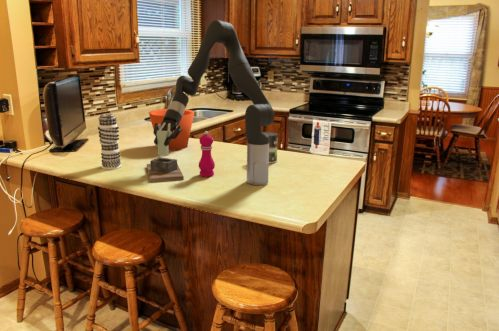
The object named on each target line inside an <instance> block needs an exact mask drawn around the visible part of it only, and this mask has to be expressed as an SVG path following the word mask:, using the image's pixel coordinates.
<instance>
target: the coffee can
mask: <svg viewBox="0 0 499 331" xmlns="http://www.w3.org/2000/svg"><path fill="white" fill-rule="evenodd" d="M261 132H262V134H265V135H268V136H269V165H271V164H274V163H277V162H278V137H279V133H278V132H274V131H261Z"/></svg>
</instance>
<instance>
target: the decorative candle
mask: <svg viewBox="0 0 499 331" xmlns="http://www.w3.org/2000/svg"><path fill="white" fill-rule="evenodd" d="M117 118H118V117H116V116H115V115H114V113H102V114H100V115H99V117H98V118H97V119H98V124H99V125H98V126H97V129H98V137H99V140H98V141H99V143H100V147H101V153H100V155H101V157H100V158H101V166H102V167H101V168H102V169H104V170H116V169H120V168H121V166H122V165H121V164H122V162H121V158H120V157H121V155H120V154H121V152H120V148H119V142H120V141H119V140H120V138H119V137H120V134H118V133H120V131H119V126H118V123H117Z"/></svg>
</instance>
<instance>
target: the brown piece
mask: <svg viewBox="0 0 499 331" xmlns="http://www.w3.org/2000/svg"><path fill="white" fill-rule="evenodd" d="M146 169H147V170H146V171H147V174H148V177H149V181H150V183H158V182H169V181H170V182H172V181H184V180H185V179H184V178H185V177H184V175H183V173H182V170H181V169H180V167H179V164H178V159H175V158H168V157H167V158H166V157H162V156H161V157H157V158H154V159H151V160H150V163H146Z"/></svg>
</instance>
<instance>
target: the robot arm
mask: <svg viewBox="0 0 499 331" xmlns="http://www.w3.org/2000/svg"><path fill="white" fill-rule="evenodd" d="M239 40H240V39H239V37H238V34H237V31H236V29H235V26H234V25H233V24H232V23H230V22H228V21H223V20H220V19H214V20H212V21H211V22H210V23H209V25H208V26H207V28H206V31H205V33H204V36H203V38H202V41H201V43H200V46H199V48H198V50H197V53H196V55H195V57H194V59H193V61H192V63H191V64H190V66H189V68H187V74H188V76H189V77H188V76H186V75H180V76H178V78H177V80H176V83H175V92H174V94H173V97H172V100H171V102H170V103H169V105H168V106H167V108H166V109H167V111H166V113H165V115H164V117H163V121H162V122H161V124H157V123H155V126H154V129H153V133H152V134H153V135H154V136H155V138H154V140H153V144H155V146H157V145H158V143H157V131H159V130H162V131H168V137H166V139H165V142H164V145H165V146H167V145H169V143H170V141H171V140H172V139H173V138H174V139H176V138H177V136H178V135H179V134H180V132H181V131H182V128H181V126H178V125H179V123H180V121H181V118H182V116H183V114H184V111H185V109H186V108H187V106H188V103H189V100H190V98H189V97H188V96H191V97H192V96H194V95H196V94H197V93H198V91H199V86H200V82H201V79H202V77H203V76H204V74H205V73H206V71H207V69H208V67H209V64H210V55H211V54H210V53H211V50H212V48H213V47H214V46H215V44H216V43H219V44H223V46H224V48H225V49H226V51H227V53H228V63H227V69H228V73H229V75H230V77H231V80H232V82H233V83H234V85H235V86H236V87H237V88H238V89H239V90H240V91H241V92H242V93H244V95H246V96H247V97H248V98H249V99H250V100H251V101H250V102H252V104H250V105H248V106H247V107H246V109H245V114H244V124H245V137H246V139H247V140H246V141H247V142H246V148H247V149H246V150H247V151H246V182H247V184H249V185H253V186H263V185H268V184H269V167H270V164H269V136H268V135H265V134H262V132H263V131H262V127H267V126H269V125H272V124H273V123H274V121H275V111H274V109H273V107H272V105H271V103H270V101H269V100H268V98H267V97H266V95H265V93H264V91H263V90H262V88H261V86H260V84H259V82H258V81H257V79H256V76H255V74H254V71H253V69H252V67H251V65H250V63H249V61H248V59H247V57H246V55H245V52H244V51H243V48H242V46H241V43H240V41H239ZM160 127H161V128H160ZM175 129H176V130H175ZM174 130H175V131H174Z"/></svg>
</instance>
